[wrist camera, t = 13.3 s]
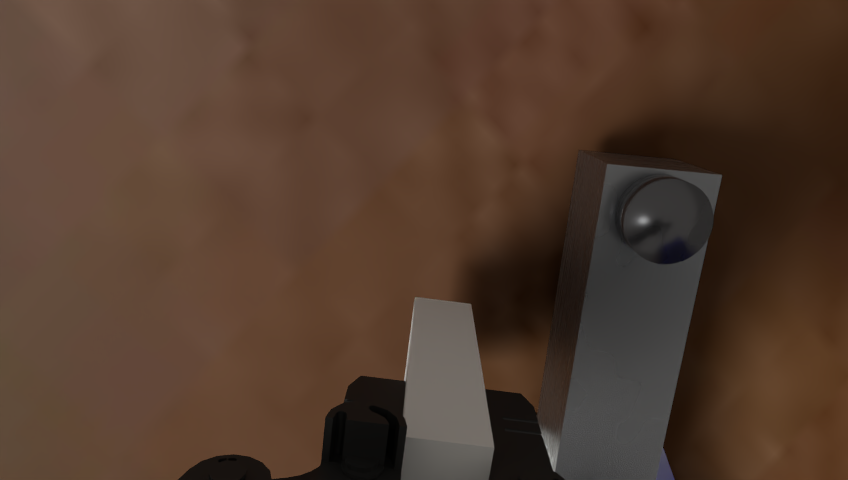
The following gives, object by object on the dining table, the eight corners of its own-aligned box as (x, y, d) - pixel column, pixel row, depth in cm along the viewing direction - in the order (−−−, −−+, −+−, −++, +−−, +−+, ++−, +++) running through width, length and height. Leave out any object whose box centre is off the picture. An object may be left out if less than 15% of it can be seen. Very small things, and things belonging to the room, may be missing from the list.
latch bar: (616, 608, 20) (654, 719, 16) (478, 595, 19) (487, 704, 16) (711, 162, 16) (786, 185, 13) (542, 146, 16) (571, 165, 12)
